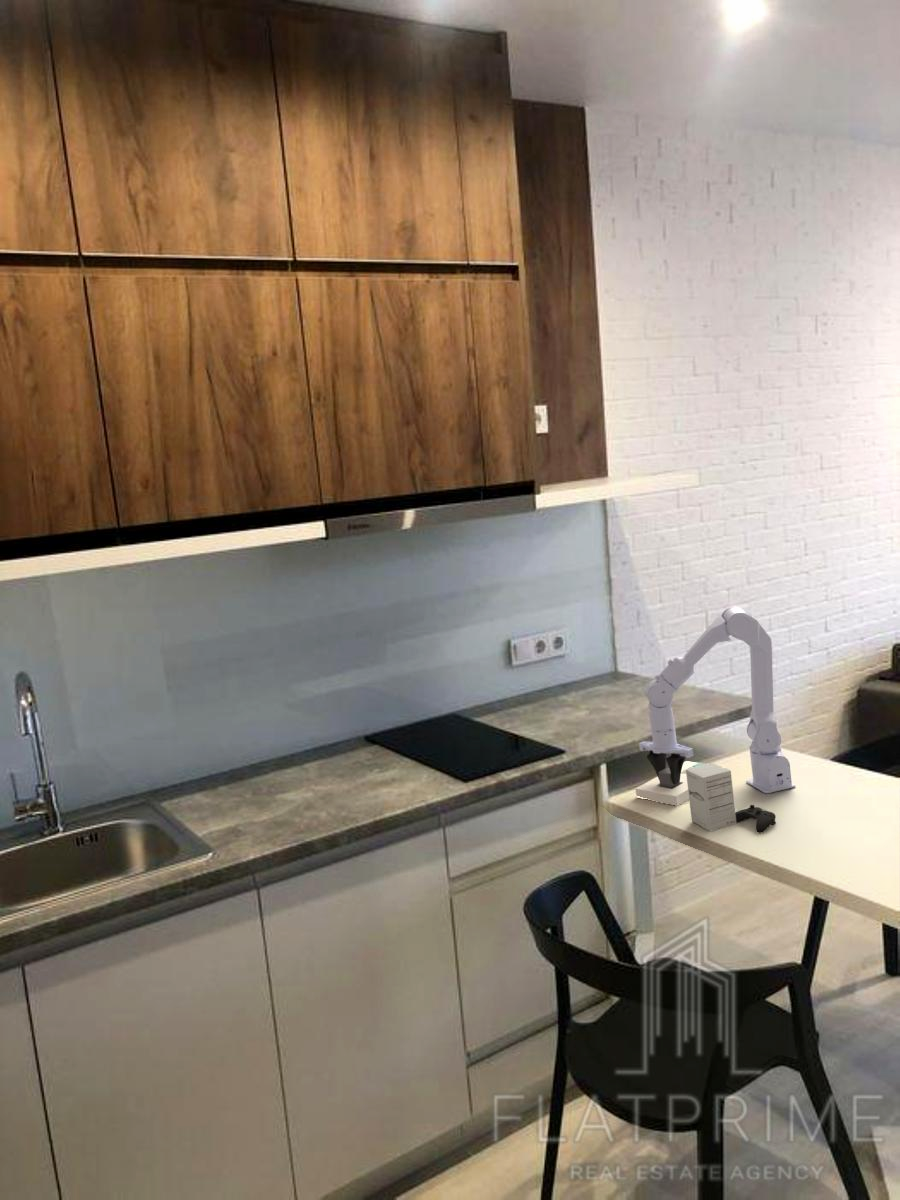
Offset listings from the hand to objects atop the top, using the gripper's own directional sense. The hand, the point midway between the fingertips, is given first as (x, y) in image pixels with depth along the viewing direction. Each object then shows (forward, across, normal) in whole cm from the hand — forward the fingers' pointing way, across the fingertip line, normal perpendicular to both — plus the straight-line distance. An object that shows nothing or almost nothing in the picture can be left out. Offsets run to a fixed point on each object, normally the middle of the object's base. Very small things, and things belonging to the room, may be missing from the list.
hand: (669, 781), depth 229 cm
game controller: (+4, +27, -7) cm, 28 cm away
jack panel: (+3, 0, +5) cm, 6 cm away
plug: (+3, 0, 0) cm, 3 cm away
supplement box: (+3, +19, -10) cm, 22 cm away
